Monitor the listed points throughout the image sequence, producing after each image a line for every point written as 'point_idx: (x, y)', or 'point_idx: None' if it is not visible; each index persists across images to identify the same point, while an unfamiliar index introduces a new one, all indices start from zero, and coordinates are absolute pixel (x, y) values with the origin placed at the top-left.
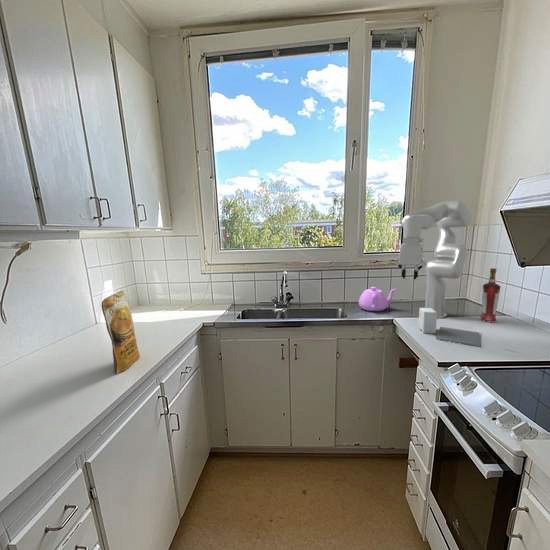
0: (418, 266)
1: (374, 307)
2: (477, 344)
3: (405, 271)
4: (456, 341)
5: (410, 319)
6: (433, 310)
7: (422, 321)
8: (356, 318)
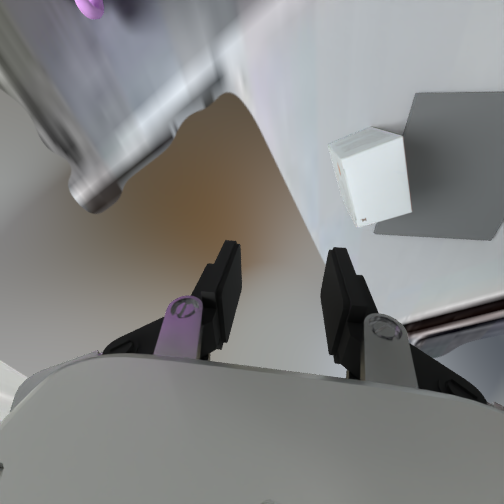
0: (413, 375)
1: (98, 14)
2: (489, 233)
3: (226, 297)
4: (430, 235)
5: (290, 22)
6: (404, 184)
7: (344, 197)
8: (112, 150)
